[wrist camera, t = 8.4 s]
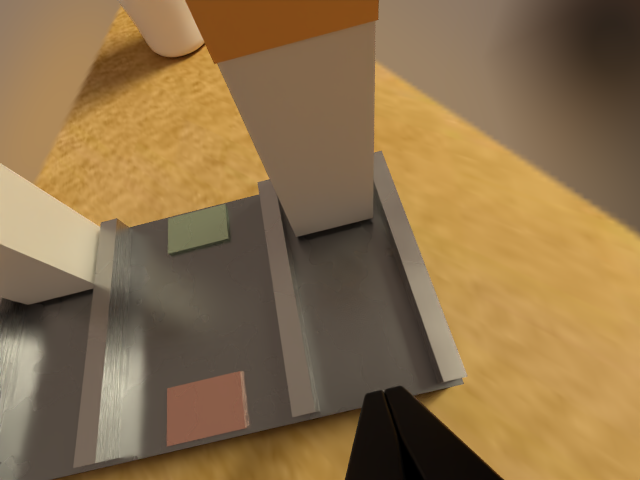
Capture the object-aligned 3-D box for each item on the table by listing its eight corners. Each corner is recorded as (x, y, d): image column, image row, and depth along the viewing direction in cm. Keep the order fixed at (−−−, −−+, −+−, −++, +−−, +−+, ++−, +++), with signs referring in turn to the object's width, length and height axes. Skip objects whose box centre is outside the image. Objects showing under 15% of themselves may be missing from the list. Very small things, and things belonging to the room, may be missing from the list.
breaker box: (451, 386, 14) (473, 382, 11) (15, 487, 14) (-73, 508, 12) (380, 186, 18) (382, 147, 16) (53, 268, 19) (-2, 245, 16)
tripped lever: (374, 218, 15) (382, -194, 5) (295, 238, 15) (128, -121, 5) (357, 165, 16) (333, -242, 6) (284, 184, 17) (138, -184, 6)
